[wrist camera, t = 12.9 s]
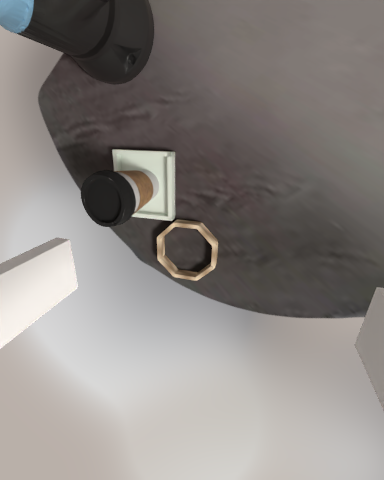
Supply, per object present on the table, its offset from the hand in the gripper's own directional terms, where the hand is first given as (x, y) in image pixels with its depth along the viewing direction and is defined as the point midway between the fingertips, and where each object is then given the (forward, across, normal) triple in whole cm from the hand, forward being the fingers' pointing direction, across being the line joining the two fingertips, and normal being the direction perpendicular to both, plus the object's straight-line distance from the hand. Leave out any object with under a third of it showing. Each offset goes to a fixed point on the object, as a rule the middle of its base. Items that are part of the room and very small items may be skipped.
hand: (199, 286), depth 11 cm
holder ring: (+37, -11, -16) cm, 42 cm away
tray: (+37, -20, -3) cm, 42 cm away
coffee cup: (+36, -20, -3) cm, 42 cm away
